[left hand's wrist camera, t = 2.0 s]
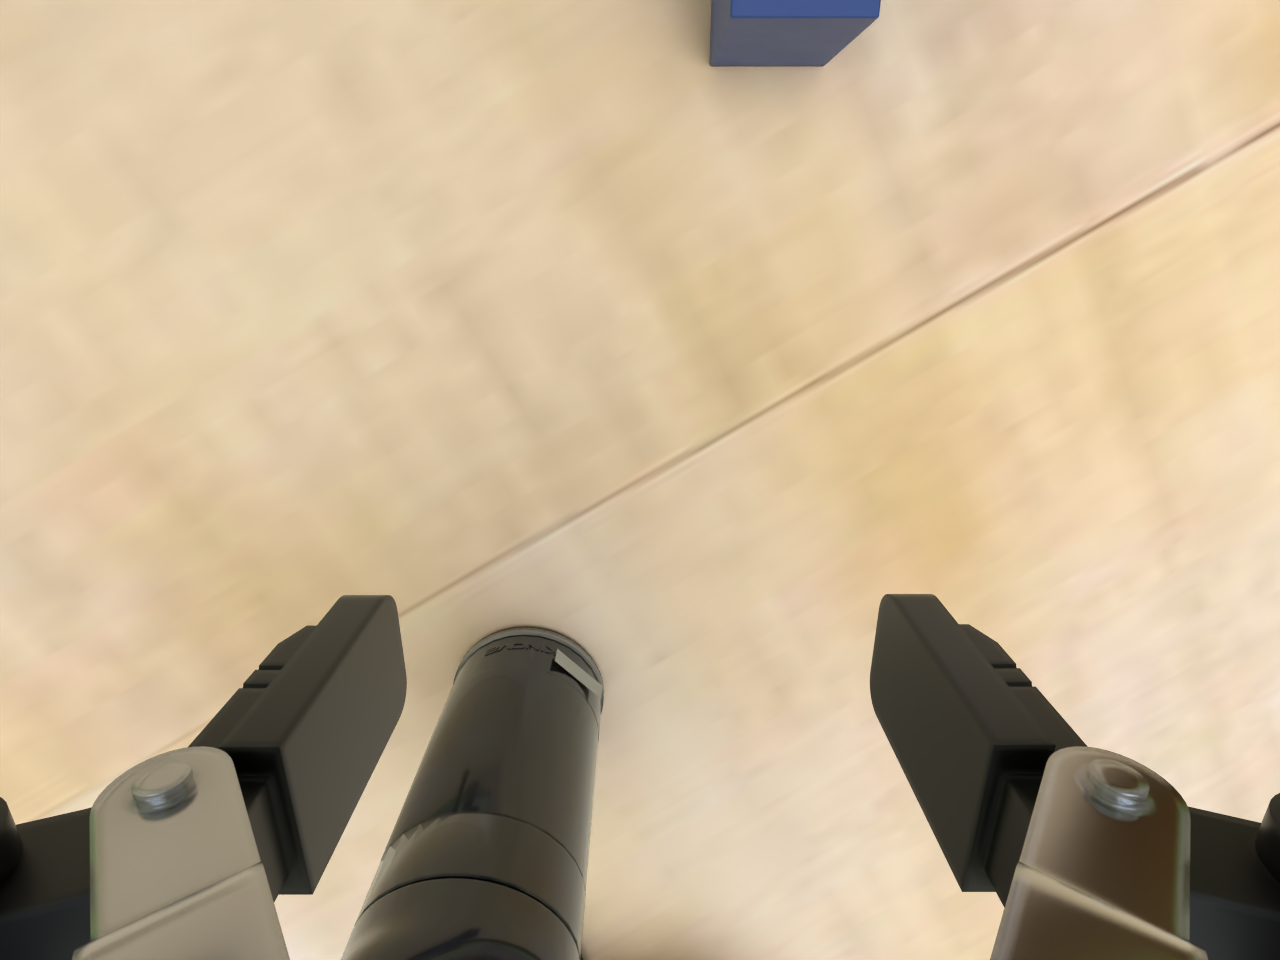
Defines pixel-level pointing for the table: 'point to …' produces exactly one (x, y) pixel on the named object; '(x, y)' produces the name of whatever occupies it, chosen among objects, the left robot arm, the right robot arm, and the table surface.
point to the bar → (785, 30)
